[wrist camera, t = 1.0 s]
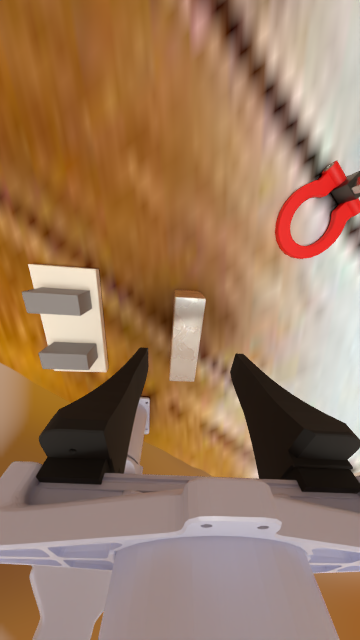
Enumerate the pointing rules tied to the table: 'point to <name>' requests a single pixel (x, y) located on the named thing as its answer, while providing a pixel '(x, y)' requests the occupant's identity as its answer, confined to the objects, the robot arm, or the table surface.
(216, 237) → the table surface
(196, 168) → the table surface
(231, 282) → the table surface
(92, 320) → the peg rack
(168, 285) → the table surface
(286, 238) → the tow hook
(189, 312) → the white long rectangular piece
